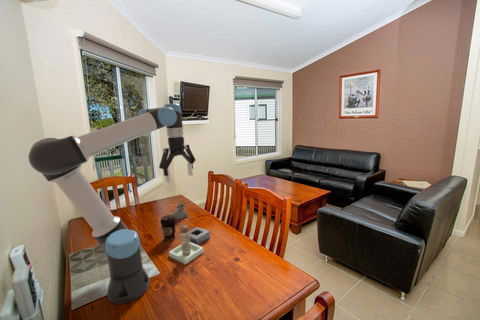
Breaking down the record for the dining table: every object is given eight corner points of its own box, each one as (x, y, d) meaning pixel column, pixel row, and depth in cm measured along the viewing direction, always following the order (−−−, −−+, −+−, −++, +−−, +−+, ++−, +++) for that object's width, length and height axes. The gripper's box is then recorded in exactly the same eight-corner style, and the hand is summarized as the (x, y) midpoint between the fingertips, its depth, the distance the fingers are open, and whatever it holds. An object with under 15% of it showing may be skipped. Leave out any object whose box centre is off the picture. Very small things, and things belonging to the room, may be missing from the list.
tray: (185, 264, 106) (184, 260, 106) (169, 256, 113) (168, 251, 113) (203, 252, 116) (203, 247, 116) (187, 244, 123) (187, 240, 123)
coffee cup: (172, 243, 125) (170, 221, 123) (159, 242, 127) (156, 220, 125) (180, 235, 134) (178, 214, 131) (167, 234, 135) (164, 213, 133)
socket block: (196, 245, 122) (196, 239, 121) (184, 240, 127) (183, 233, 127) (209, 237, 130) (209, 231, 129) (197, 232, 135) (197, 226, 135)
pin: (186, 256, 112) (183, 230, 109) (180, 253, 114) (178, 227, 111) (192, 252, 115) (190, 226, 112) (186, 249, 117) (184, 224, 115)
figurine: (180, 213, 165) (179, 199, 163) (188, 216, 158) (187, 202, 156) (170, 217, 159) (168, 202, 157) (177, 221, 152) (176, 205, 150)
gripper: (157, 139, 99) (162, 186, 104) (200, 134, 118) (203, 173, 123) (147, 139, 104) (153, 184, 108) (190, 134, 123) (194, 172, 127)
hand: (180, 178), depth 115 cm, fingers open, 13 cm apart
